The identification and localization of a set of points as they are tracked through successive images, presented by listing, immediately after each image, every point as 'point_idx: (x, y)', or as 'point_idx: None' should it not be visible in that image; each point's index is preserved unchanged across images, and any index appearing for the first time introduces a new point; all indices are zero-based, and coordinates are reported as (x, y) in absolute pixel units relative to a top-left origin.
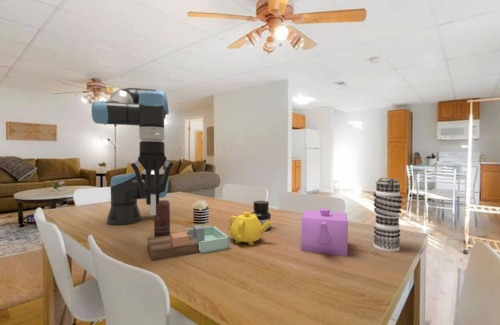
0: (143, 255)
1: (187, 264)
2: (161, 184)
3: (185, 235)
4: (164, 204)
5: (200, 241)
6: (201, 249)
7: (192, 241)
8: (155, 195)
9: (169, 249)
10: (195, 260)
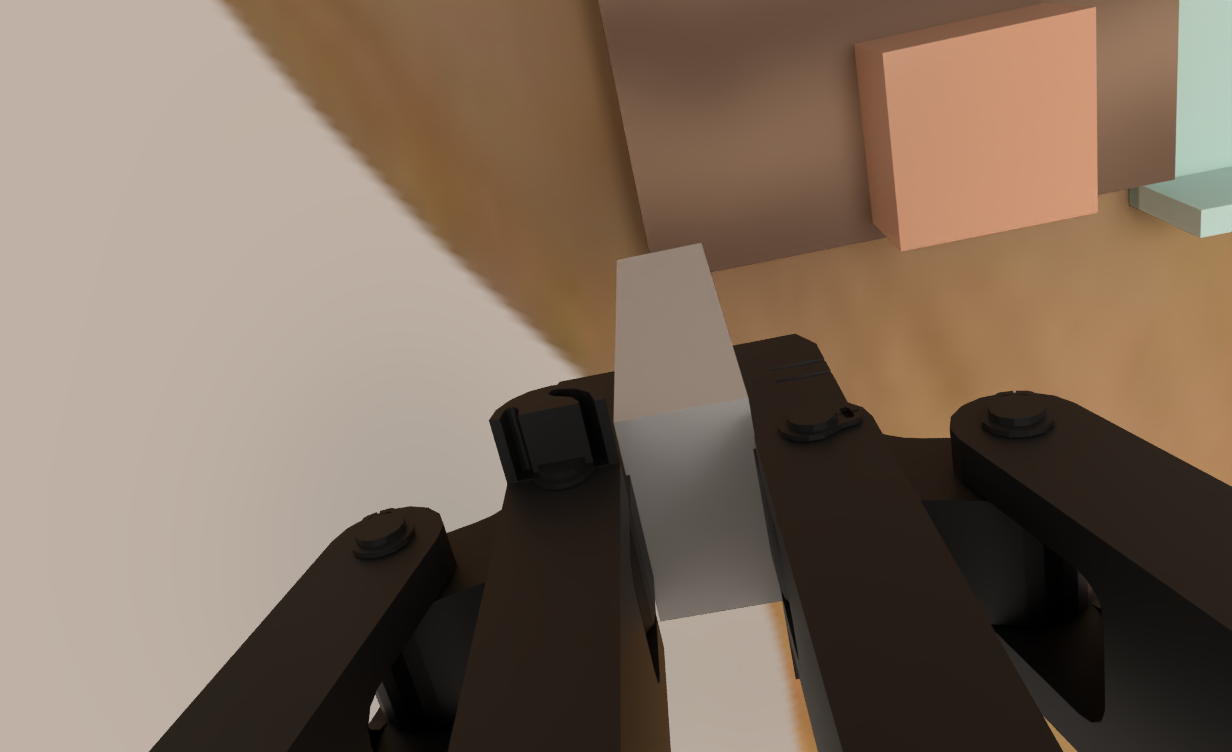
0: (545, 88)
1: (946, 412)
2: (1072, 563)
3: (1065, 176)
4: None
5: (1200, 211)
6: (1156, 214)
7: (1122, 77)
8: (774, 588)
9: (824, 246)
10: (1031, 349)
